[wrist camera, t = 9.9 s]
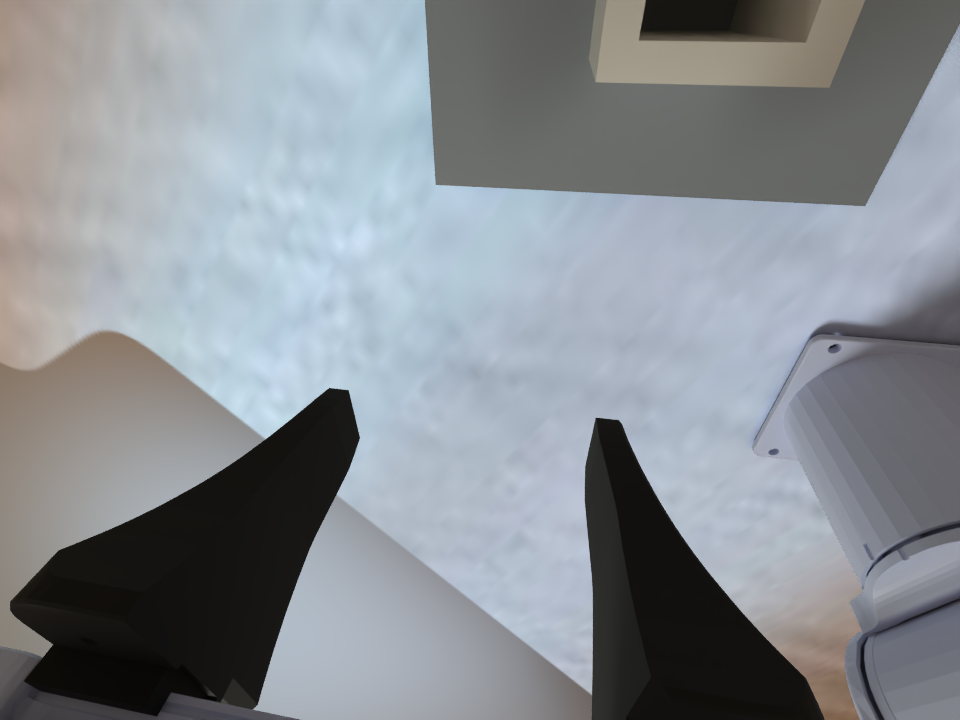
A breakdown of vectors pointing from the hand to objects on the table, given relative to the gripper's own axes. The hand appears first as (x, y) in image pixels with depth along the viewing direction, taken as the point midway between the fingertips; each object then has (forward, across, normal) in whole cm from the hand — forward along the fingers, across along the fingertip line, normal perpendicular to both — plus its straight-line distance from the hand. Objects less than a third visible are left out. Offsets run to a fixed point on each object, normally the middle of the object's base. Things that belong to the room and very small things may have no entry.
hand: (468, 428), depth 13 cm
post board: (+10, -5, -11) cm, 16 cm away
